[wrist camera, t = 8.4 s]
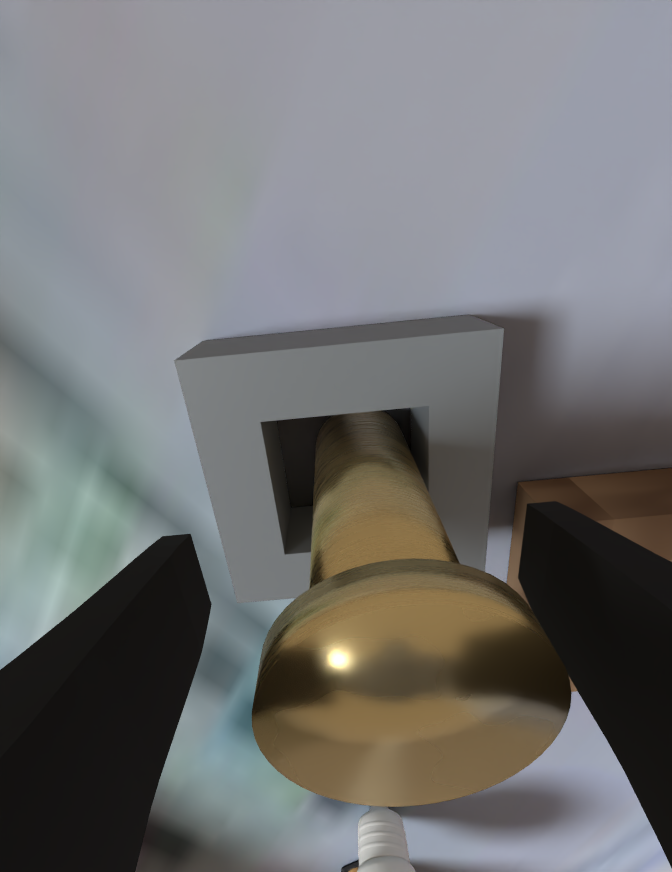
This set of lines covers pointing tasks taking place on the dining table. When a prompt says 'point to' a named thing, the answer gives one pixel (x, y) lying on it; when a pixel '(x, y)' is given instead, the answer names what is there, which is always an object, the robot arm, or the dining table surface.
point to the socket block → (331, 395)
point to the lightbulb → (382, 842)
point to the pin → (399, 645)
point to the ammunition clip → (351, 867)
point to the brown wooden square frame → (603, 509)
